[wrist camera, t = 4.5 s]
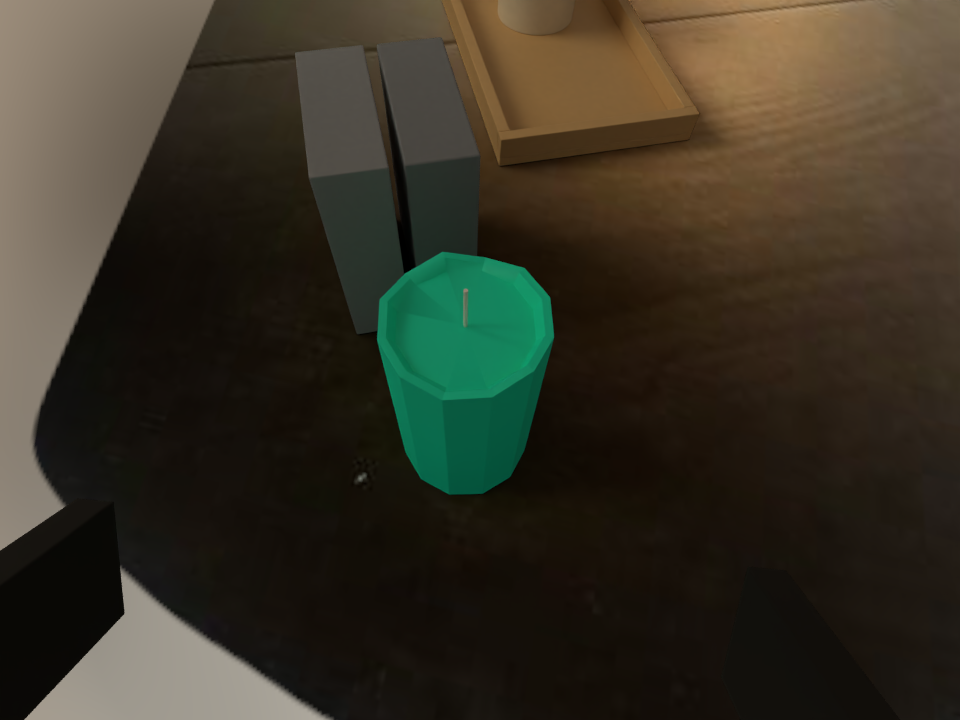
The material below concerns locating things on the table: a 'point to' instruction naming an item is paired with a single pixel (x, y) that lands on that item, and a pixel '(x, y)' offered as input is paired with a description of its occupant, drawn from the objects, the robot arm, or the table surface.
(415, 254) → the grey book
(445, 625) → the table surface
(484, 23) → the tray
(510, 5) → the cream candle
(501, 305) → the candle
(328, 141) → the grey book
